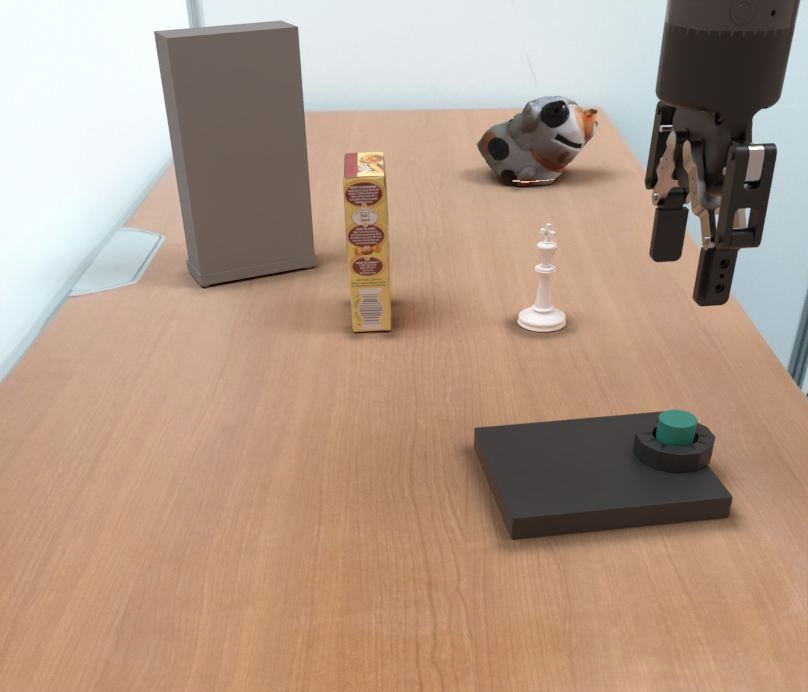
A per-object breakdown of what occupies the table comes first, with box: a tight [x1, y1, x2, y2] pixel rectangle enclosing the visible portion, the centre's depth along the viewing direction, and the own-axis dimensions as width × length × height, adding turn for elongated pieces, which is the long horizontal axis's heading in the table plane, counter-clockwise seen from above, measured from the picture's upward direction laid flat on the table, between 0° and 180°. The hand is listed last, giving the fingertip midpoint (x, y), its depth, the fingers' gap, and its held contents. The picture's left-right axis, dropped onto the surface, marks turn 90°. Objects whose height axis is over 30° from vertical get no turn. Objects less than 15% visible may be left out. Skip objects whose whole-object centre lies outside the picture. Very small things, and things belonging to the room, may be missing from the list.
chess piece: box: [517, 222, 567, 333], centre depth 95 cm, size 5×5×10 cm
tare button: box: [656, 409, 698, 447], centre depth 71 cm, size 3×3×2 cm
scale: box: [473, 410, 734, 541], centre depth 72 cm, size 17×13×4 cm
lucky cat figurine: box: [476, 95, 599, 187], centre depth 137 cm, size 15×12×14 cm
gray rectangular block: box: [153, 20, 318, 288], centre depth 104 cm, size 14×6×25 cm, turn 115°
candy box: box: [342, 151, 392, 333], centre depth 95 cm, size 9×4×15 cm, turn 2°
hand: (685, 280), depth 66 cm, fingers open, 8 cm apart
